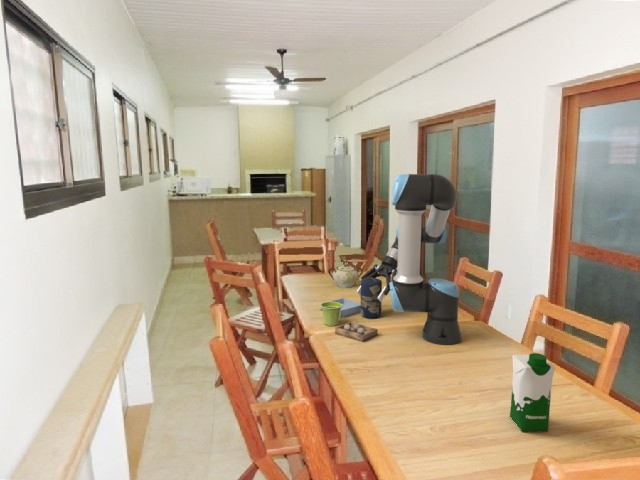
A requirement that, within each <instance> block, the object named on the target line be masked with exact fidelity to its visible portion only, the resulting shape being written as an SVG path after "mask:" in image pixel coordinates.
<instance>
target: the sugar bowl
mask: <svg viewBox="0 0 640 480" xmlns="http://www.w3.org/2000/svg"><path fill="white" fill-rule="evenodd" d="M345 263H347V264H345ZM332 270H333V271H332ZM331 271H332V273H331ZM359 271H360V273H359ZM328 274H329V276H330V277H331V279H332V280H333V281H334V283H336V285H337V287H339V288H344V289H348V288H352V287H354V285H356V282H357V281H358V280H359V278H361V277H362V276H363V269H362V267H357V268H355V267H354V266H351V265H350V261H349V260H348V259H347V260H346V259H345V260H344V261H343V263H342V265H340V266H337V267H336V268H334V267H330V268H329V269H328Z"/></svg>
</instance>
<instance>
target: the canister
mask: <svg viewBox="0 0 640 480" xmlns="http://www.w3.org/2000/svg"><path fill="white" fill-rule="evenodd" d="M360 284H361V295H360V302H359V303H360V304H361V313H360V315H361V316H362V317H364V318H368V319H369V318H370V319H374V318H379V317H380V316H381V315H382V302H380V300H379V299H378V296H379V295H380V293H381V292H382V290H383V288H382V287H383V281H382V280H381V279H379V278H377V277H376V278H366V279H363V280H362V279H361V280H360Z"/></svg>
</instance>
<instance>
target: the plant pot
mask: <svg viewBox="0 0 640 480" xmlns="http://www.w3.org/2000/svg"><path fill="white" fill-rule="evenodd" d="M323 302H324V303H323ZM323 302H321V303H322V304H321V307H322V311H321V312H322V317H323V318H322V319H323V324H324V325H325V326H327V327H334V326H337V325H338V326H339V320H340V318H339V314H340V310H341V307H342V304H341V303H338V302H327V301H323Z"/></svg>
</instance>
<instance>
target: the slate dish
mask: <svg viewBox="0 0 640 480" xmlns="http://www.w3.org/2000/svg"><path fill="white" fill-rule="evenodd" d="M324 302H325V301H323V302H320V311H321V312H323V311H322V307H321V304H322V303H324ZM326 302H338V303H341V304H342V307H341V310H340V314H339V319H343V318H346V317H350V316H353V315H357V314H361V304H360V303H361V302H358V301H355V300H352V299H349V298H346V297H342V298H337V299H333V300H328V301H326ZM342 317H343V318H342Z"/></svg>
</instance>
